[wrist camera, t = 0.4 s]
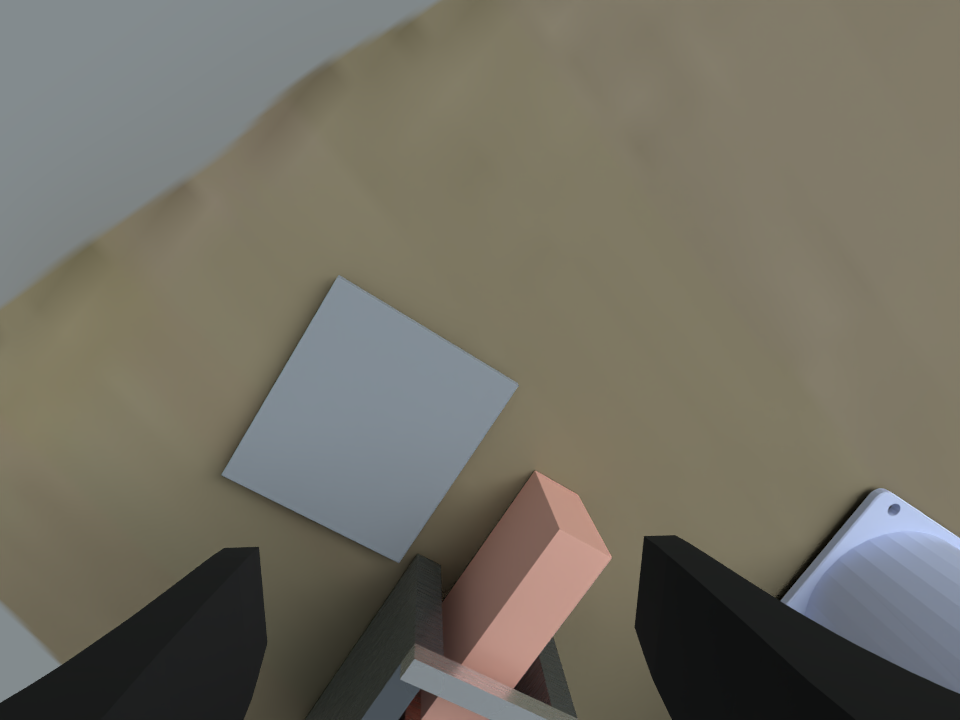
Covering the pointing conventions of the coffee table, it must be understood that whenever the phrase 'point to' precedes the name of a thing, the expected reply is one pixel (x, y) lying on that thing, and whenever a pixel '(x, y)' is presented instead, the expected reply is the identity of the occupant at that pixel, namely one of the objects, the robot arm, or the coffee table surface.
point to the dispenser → (432, 666)
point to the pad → (369, 422)
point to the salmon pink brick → (519, 588)
